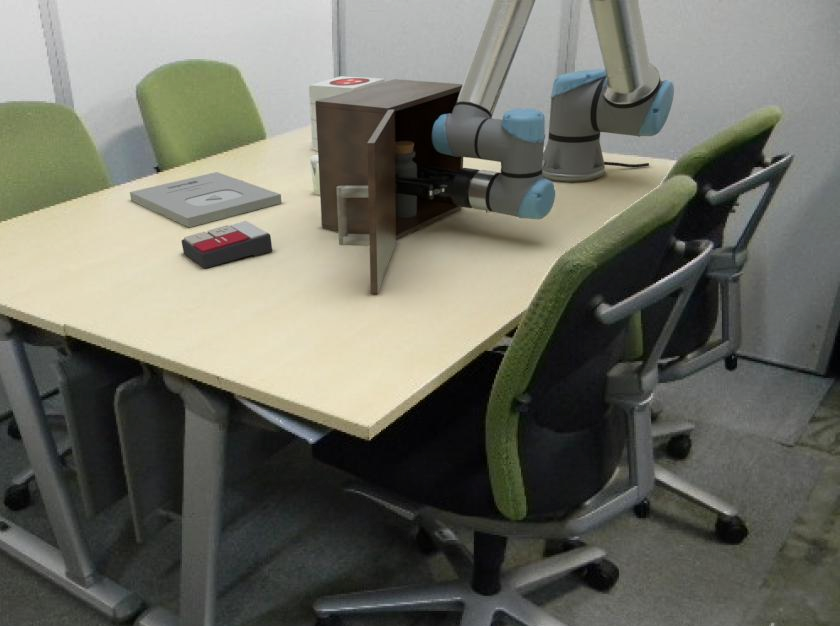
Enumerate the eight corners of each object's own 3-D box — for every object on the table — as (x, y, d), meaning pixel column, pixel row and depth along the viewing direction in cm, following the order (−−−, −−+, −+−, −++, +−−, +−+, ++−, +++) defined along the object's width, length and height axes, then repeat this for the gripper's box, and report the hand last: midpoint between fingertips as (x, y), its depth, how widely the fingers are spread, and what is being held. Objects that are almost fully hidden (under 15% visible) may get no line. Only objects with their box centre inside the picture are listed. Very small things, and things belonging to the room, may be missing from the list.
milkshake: (331, 189, 207) (329, 147, 202) (329, 195, 202) (327, 152, 197) (312, 189, 207) (310, 148, 202) (310, 196, 203) (308, 153, 198)
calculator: (179, 236, 171) (246, 217, 176) (183, 256, 173) (249, 237, 179) (201, 250, 162) (270, 230, 168) (204, 272, 165) (273, 251, 170)
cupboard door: (337, 292, 149) (331, 143, 136) (361, 243, 171) (357, 110, 158) (377, 293, 148) (374, 142, 135) (395, 243, 170) (394, 109, 157)
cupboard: (461, 209, 186) (465, 84, 173) (389, 243, 170) (387, 108, 157) (395, 197, 197) (394, 79, 184) (321, 228, 181) (315, 100, 168)
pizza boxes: (362, 168, 222) (360, 96, 213) (303, 149, 244) (298, 83, 235) (421, 155, 230) (421, 85, 221) (358, 137, 252) (356, 73, 244)
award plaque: (217, 180, 221) (216, 171, 220) (281, 203, 199) (280, 194, 198) (131, 200, 209) (129, 191, 208) (188, 227, 187) (187, 218, 186)
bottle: (399, 220, 179) (398, 148, 172) (384, 213, 184) (383, 143, 176) (422, 215, 181) (422, 143, 174) (406, 208, 186) (406, 138, 179)
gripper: (449, 220, 164) (355, 202, 178) (500, 196, 175) (409, 181, 190) (450, 181, 160) (354, 166, 174) (502, 159, 172) (409, 147, 186)
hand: (383, 174), depth 182 cm, fingers closed on bottle, 6 cm apart
